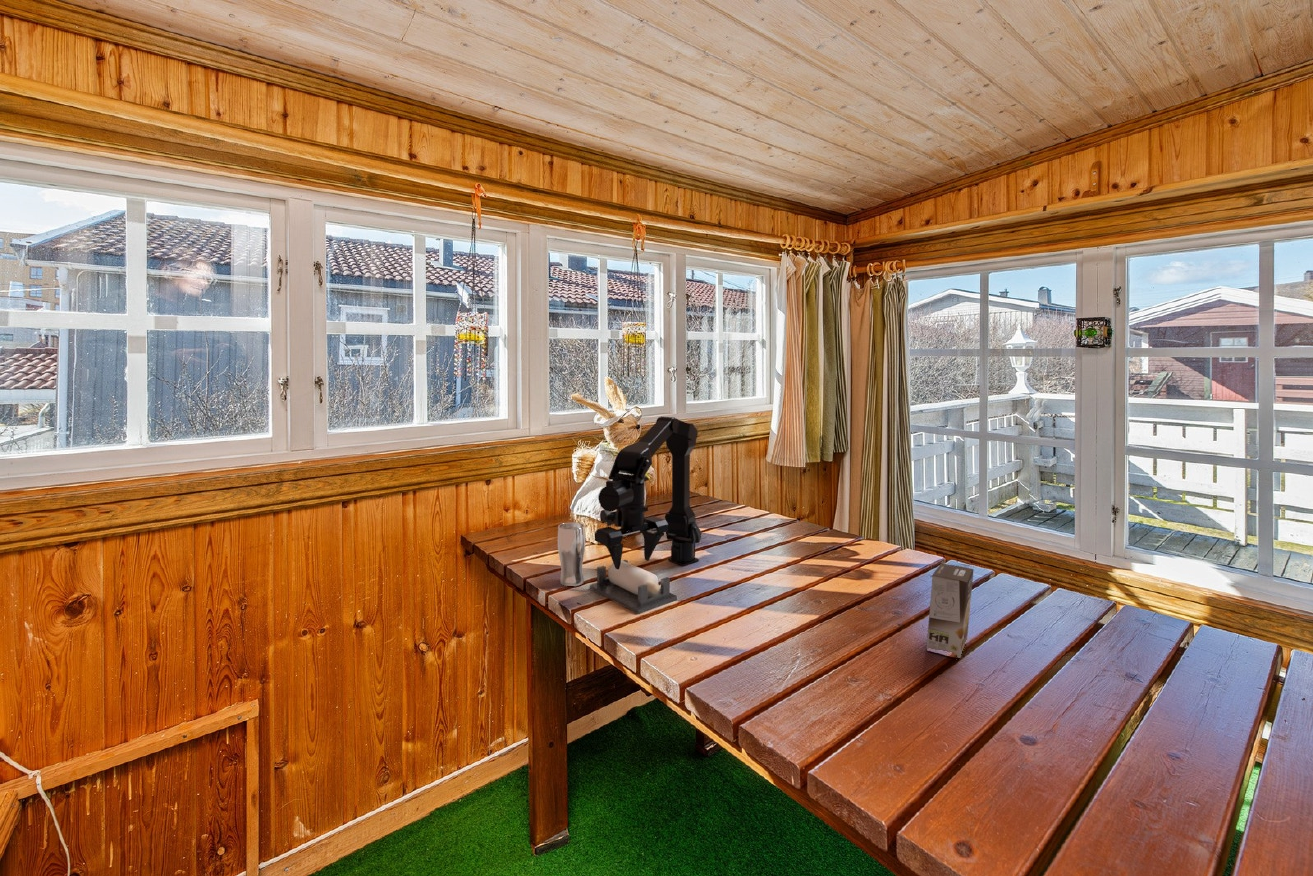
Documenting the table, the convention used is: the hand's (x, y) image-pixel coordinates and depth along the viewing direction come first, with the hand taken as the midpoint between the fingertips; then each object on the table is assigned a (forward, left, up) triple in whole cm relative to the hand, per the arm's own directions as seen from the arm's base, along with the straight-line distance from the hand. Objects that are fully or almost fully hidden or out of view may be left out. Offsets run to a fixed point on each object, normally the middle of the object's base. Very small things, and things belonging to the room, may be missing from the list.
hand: (632, 564), depth 147 cm
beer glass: (+7, -16, -8) cm, 19 cm away
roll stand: (0, 0, -8) cm, 8 cm away
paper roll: (0, 0, -7) cm, 7 cm away
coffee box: (-32, +62, -8) cm, 70 cm away
